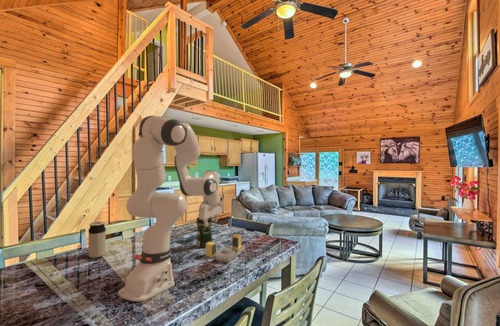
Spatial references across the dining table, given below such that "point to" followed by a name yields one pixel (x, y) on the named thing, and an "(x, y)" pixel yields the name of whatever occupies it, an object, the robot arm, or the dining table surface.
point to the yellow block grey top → (210, 249)
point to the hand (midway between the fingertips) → (211, 224)
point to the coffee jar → (203, 232)
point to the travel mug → (97, 239)
